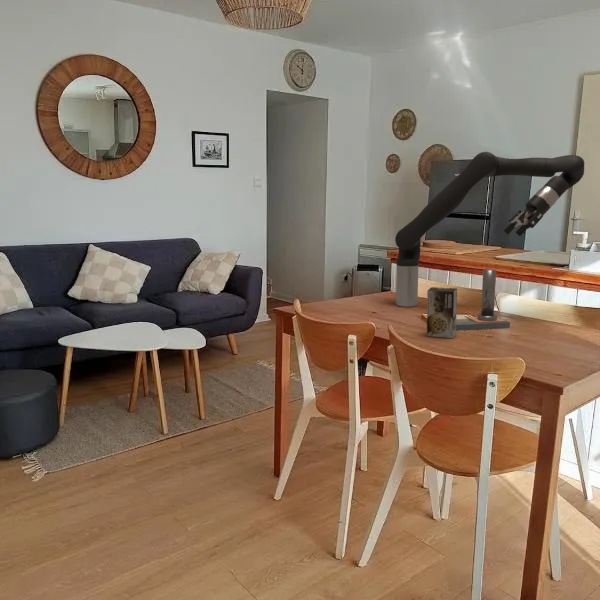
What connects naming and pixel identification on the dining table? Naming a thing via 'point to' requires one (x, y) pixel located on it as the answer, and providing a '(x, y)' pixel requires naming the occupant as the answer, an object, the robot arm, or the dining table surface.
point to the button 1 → (461, 319)
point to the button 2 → (485, 321)
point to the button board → (481, 325)
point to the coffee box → (441, 312)
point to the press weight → (488, 296)
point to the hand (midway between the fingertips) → (511, 233)
